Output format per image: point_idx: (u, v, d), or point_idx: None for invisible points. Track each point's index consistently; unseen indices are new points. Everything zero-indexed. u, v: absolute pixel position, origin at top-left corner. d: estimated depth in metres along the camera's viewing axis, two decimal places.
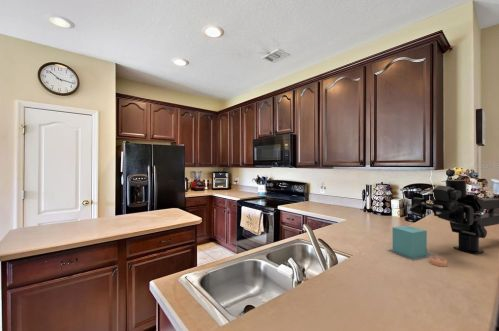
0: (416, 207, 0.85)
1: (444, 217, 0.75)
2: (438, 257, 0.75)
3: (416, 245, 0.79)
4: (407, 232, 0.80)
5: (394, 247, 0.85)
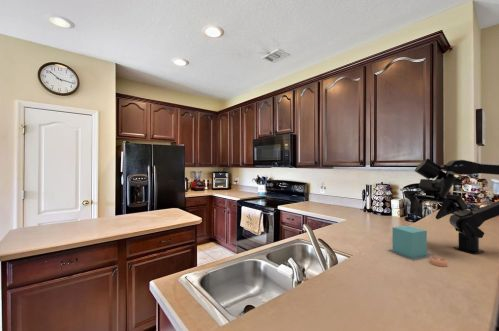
0: (413, 206, 0.91)
1: (441, 216, 0.81)
2: (438, 257, 0.75)
3: (416, 245, 0.79)
4: (407, 232, 0.80)
5: (394, 247, 0.85)
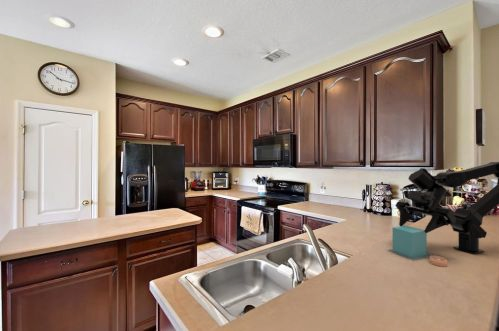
0: (403, 218, 0.89)
1: (430, 229, 0.80)
2: (438, 257, 0.75)
3: (416, 245, 0.79)
4: (407, 232, 0.80)
5: (394, 247, 0.85)
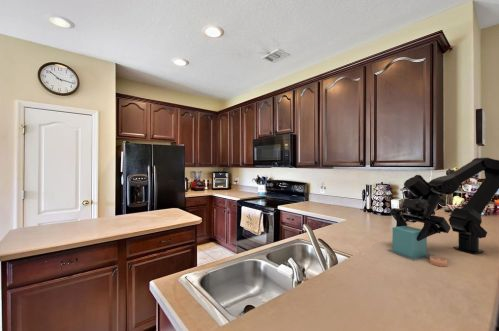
0: None
1: (422, 237, 0.79)
2: (438, 257, 0.75)
3: (416, 245, 0.79)
4: (407, 232, 0.80)
5: (394, 247, 0.85)
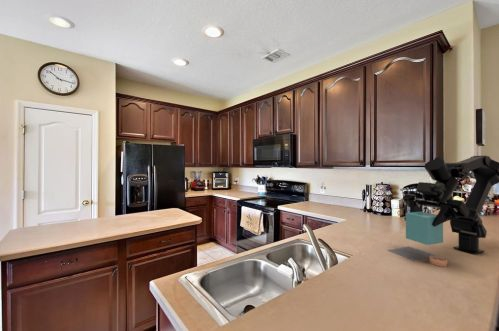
0: None
1: (439, 222, 0.74)
2: (438, 257, 0.75)
3: (432, 230, 0.74)
4: (422, 217, 0.75)
5: (407, 234, 0.80)
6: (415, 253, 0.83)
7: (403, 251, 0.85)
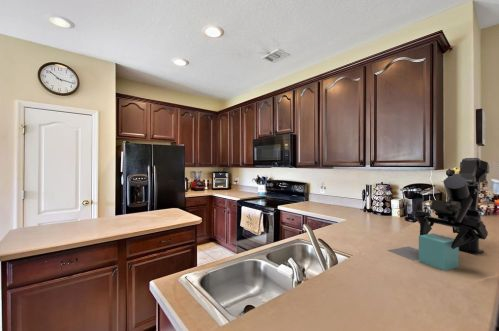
0: (424, 230, 0.79)
1: (458, 245, 0.69)
2: None
3: (448, 256, 0.70)
4: (437, 242, 0.71)
5: (421, 258, 0.76)
6: (415, 253, 0.83)
7: (403, 251, 0.85)
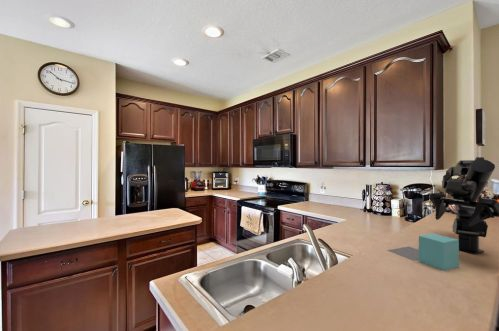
0: (439, 211, 0.82)
1: (474, 222, 0.73)
2: None
3: (448, 256, 0.70)
4: (437, 242, 0.71)
5: (421, 258, 0.76)
6: (415, 253, 0.83)
7: (403, 251, 0.85)
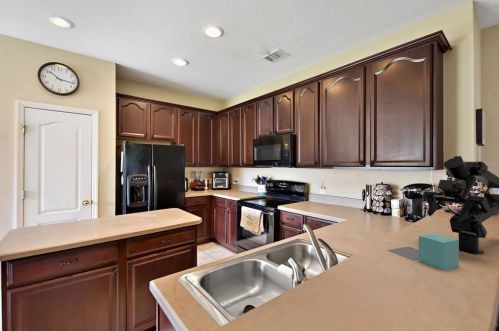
0: (432, 207, 0.87)
1: (463, 218, 0.78)
2: None
3: (448, 256, 0.70)
4: (437, 242, 0.71)
5: (421, 258, 0.76)
6: (415, 253, 0.83)
7: (403, 251, 0.85)
